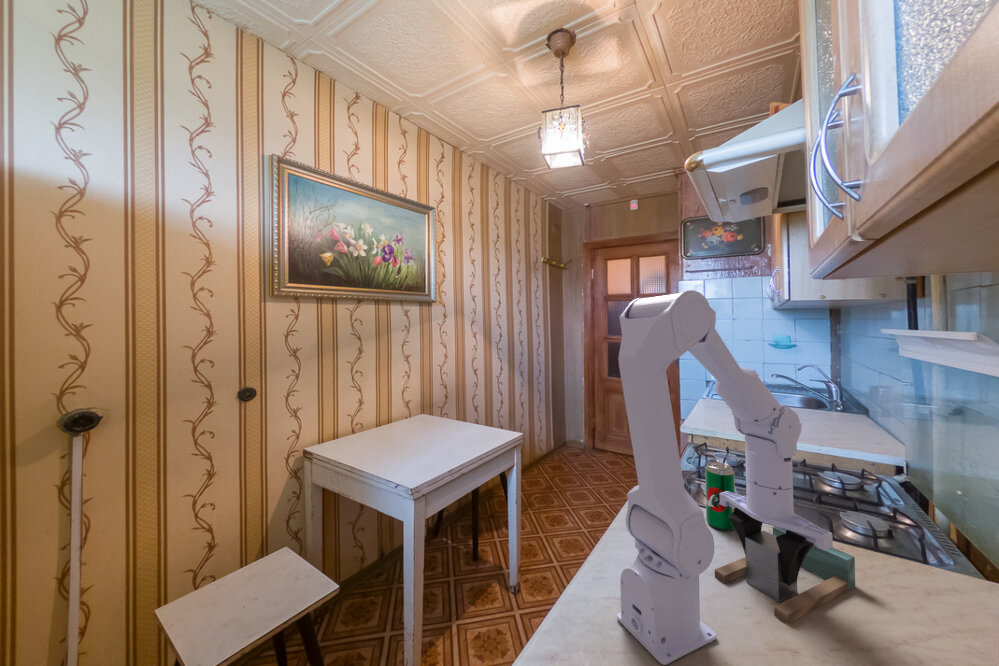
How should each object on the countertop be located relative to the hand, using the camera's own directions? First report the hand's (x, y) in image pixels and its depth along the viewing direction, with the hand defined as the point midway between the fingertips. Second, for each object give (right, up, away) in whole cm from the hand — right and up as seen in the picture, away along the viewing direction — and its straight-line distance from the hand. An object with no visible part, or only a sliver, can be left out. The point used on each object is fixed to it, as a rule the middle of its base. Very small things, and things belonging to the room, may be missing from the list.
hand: (771, 571), depth 54 cm
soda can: (+3, -3, +18) cm, 18 cm away
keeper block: (0, -2, 0) cm, 2 cm away
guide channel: (+2, -2, +1) cm, 3 cm away
